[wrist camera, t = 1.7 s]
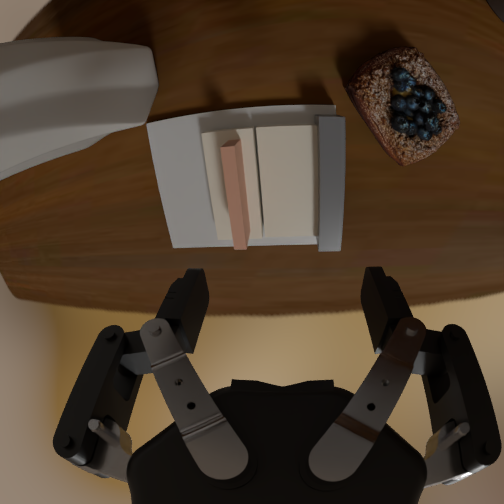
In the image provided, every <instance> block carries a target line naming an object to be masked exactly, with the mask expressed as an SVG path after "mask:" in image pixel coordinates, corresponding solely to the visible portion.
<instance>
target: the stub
mask: <svg viewBox="0 0 504 504" xmlns="http://www.w3.org/2000/svg"><path fill="white" fill-rule="evenodd" d="M201 135H202V142H203V149H204V156H205V163H206V170H207V176H208V183H209V189H210V196H211V202H212V208H213V214H214V220H215V226H216V232H217V238H218V240H233V245H234V250H244V249H247V245H248V240H249V239H262V237H263V223H262V211H261V199H260V188H259V176H258V165H257V154H256V143H255V132H254V126H253V127H240V128H230V129H221V130H212V131H205V132H203V133H201Z"/></svg>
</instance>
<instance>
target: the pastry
mask: <svg viewBox="0 0 504 504" xmlns="http://www.w3.org/2000/svg"><path fill="white" fill-rule="evenodd" d="M345 90H346V91H347V93H348V95H349V97H350V99H351V100H352V103H353V104H354V106H355V108H356V110H357V111H358V113H359V114H360V116H361V117H362V119H363V120H364V121H365V123H366V124H367V126H368V127H369V129H370V130H371V132H372V133H373V134H374V136H375V138H376V139H377V141H378V142H379V144H380V145H381V147H382V148H383V149H384V151H385V152H386V153H387V154H388V155H389V156H390V157H391V158H392V159H394V160H395V161H396V162H397V163H398V164H399V165H402V166H406V165H409V164H412V163H415V162H418V161H420V160H422V159H424V158H426V157H428V156H430V155H431V154H432V153H433V152H436V150H437V149H438V148H440V146H441V145H442V144H444V143H445V142H446V141H447V140H448V139H449V137H450V136H451V135H452V134H453V133H454V131H455V129H458V128H459V124H460V121H459V117H458V114H457V112H456V109H455V106H454V103H453V101H452V99H451V97H450V94H449V93H448V90H447V88H446V87H445V85H444V83H443V82H442V80H441V79H440V77H439V76H438V75H437V73H436V72H435V70H434V69H433V68H432V66H431V65H430V64H429V62H428V61H427V60H426V59H425V58H424V54H423V53H419V52H418V50H417V49H416V47H399V48H394V49H390V50H387V51H384V52H382V53H380V54H378V55H377V56H375V57H373V58H372V59H370V60H368V61H366V62H365V63H364V64H362V65H361V66H360V67H359V68H358V70H357V71H356V72H355V73H354V75H353V77H352V79H351V80H349V83H348V84H347V86H346V88H345Z"/></svg>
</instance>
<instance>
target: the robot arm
mask: <svg viewBox="0 0 504 504" xmlns="http://www.w3.org/2000/svg"><path fill="white" fill-rule="evenodd" d="M487 2H488V3H489V5H490V6H491V8H492V9H493V11H494V12H495V13H496V14H497V16H498V17H499V18H500V19H501V20H502V21H503V22H504V0H487ZM208 304H209V291H208V286H207V282H206V277H205V273H204V270H203V269H192V268H189V269H187V271H186V273H185V275H184V277H183V278H178V279H177V280H176V281H175V282H174V283H173V284H171V286H170V288H169V290H168V293H167V294H166V296H165V299H164V301H163V303H162V305H161V307H160V309H159V311H158V313H157V315H156V317H155V319H152V320H149V321H147V322H146V323H145V324H144V325H143V326H142V327H141V329H140V330H138V331H133V332H126V333H124V331H123V329H122V328H121V327H120V326H117V325H111V326H108V327H106V328H104V329H103V330H102V331H101V332H100V333H99V335H98V337H97V339H96V341H95V343H94V345H93V347H92V349H91V351H90V353H89V355H88V357H87V359H86V361H85V363H84V365H83V367H82V369H81V372H80V374H79V376H78V378H77V380H76V382H75V385H74V387H73V389H72V392H71V394H70V396H69V399H68V401H67V403H66V406H65V408H64V411H63V413H62V416H61V418H60V421H59V424H58V426H57V429H56V432H55V435H54V437H53V447H54V449H55V451H56V452H57V454H58V455H60V456H61V457H63V458H64V459H66V460H68V461H70V462H71V463H72V464H73V465H75V466H77V467H79V468H81V469H83V470H85V471H87V472H89V473H92V474H94V475H97V476H99V477H101V478H109V477H112V478H115V479H118V480H121V481H124V482H127V483H128V485H129V488H130V493H131V500H132V504H418V501H419V498H420V496H421V493H422V491H423V489H424V488H426V487H430V486H433V485H437V484H440V483H442V484H445V485H451V484H453V483H456V482H458V481H460V480H462V479H464V478H466V477H468V476H470V475H472V474H474V473H476V472H478V471H480V470H482V469H484V468H486V467H488V466H489V465H491V464H493V463H494V462H495V461H496V460H497V459H498V457H499V455H500V452H501V439H500V434H499V430H498V425H497V421H496V417H495V413H494V409H493V406H492V402H491V398H490V395H489V392H488V389H487V386H486V383H485V380H484V377H483V374H482V371H481V368H480V366H479V363H478V360H477V358H476V355H475V353H474V350H473V348H472V345H471V343H470V340H469V338H468V336H467V334H466V332H465V330H464V329H462V328H461V327H460V326H458V325H455V324H449V325H446V326H445V327H444V329H443V330H442V332H440V331H434V330H428V329H426V327H425V325H424V324H423V323H422V322H421V321H420V320H419V319H417V318H414V317H413V315H412V313H411V310H410V308H409V306H408V304H407V302H406V299H405V297H404V295H403V293H402V291H401V289H400V287H399V285H398V283H397V282H396V281H395V280H394V279H393V278H392V277H391V276H386V275H385V273H384V271H383V269H382V267H366V269H365V274H364V279H363V284H362V289H361V304H362V307H363V311H364V314H365V318H366V321H367V325H368V328H369V333H370V336H371V340H372V344H373V348H374V352H375V354H378V353H380V355H379V357H378V358H377V360H376V362H375V364H374V365H373V367H372V368H371V370H370V372H369V373H368V375H367V377H366V378H365V380H364V381H363V383H362V384H361V386H360V387H359V389H358V390H357V392H356V393H355V394H353V393H351V392H350V391H347V390H345V389H342V388H338V387H334V382H333V380H317V381H316V380H315V381H306V382H301V383H297V384H293V385H289V386H283V387H281V386H277V385H272V384H268V383H264V382H260V381H253V380H234V379H232V382H231V386H230V387H225V388H221V389H218V390H216V391H214V392H212V393H210V394H209V393H208V391H207V390H206V388H205V387H204V385H203V383H202V382H201V380H200V378H199V377H198V375H197V373H196V371H195V370H194V368H193V366H192V364H191V363H190V361H189V359H188V357H187V355H186V354H185V353H192V354H193V352H194V349H195V346H196V343H197V339H198V336H199V333H200V330H201V326H202V323H203V320H204V317H205V314H206V310H207V307H208ZM148 373H153V374H154V376H155V379H156V381H157V383H158V386H159V388H160V390H161V393H162V395H163V397H164V399H165V401H166V404H167V406H168V408H169V410H170V412H171V414H172V416H173V418H174V420H175V421H174V422H173V423H172V424H171V425H169V426H168V427H167V428H165V429H164V430H163V431H161V432H160V433H159V434H158V435H156V436H155V437H153V438H152V439H151V440H149V441H148V442H147V443H145V444H144V445H143V446H141V447H140V448H138V449H137V450H136V451H135V452H134V453H133V454H132V449H131V448H132V440H131V437H130V435H129V434H128V433H127V432H126V430H127V427H128V424H129V420H130V417H131V413H132V410H133V406H134V403H135V399H136V397H137V394H138V390H139V387H140V384H141V381H142V378H143V374H148ZM411 373H412V374H419V375H421V376H422V380H423V384H424V389H425V393H426V398H427V403H428V408H429V414H430V419H431V425H432V432H433V435H432V436H431V437H430V438H429V440H428V442H427V445H426V454H425V456H424V458H423V457H422V455H421V454H420V453H419V452H418V451H417V450H416V449H414V448H413V447H412V446H411V445H410V444H409V443H408V442H407V441H406V440H404V439H403V438H402V437H401V436H400V435H399V434H398V433H397V432H395V431H394V430H393V429H392V428H391V427H390V426H389V425H388V424H387V423H386V422H387V420H388V418H389V416H390V414H391V413H392V411H393V409H394V407H395V405H396V403H397V401H398V400H399V397H400V396H401V394H402V392H403V390H404V387H405V385H406V383H407V381H408V379H409V377H410V375H411Z"/></svg>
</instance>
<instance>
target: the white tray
mask: <svg viewBox="0 0 504 504" xmlns="http://www.w3.org/2000/svg"><path fill="white" fill-rule="evenodd" d="M253 126H254V132H255V143H256V154H257V165H258V176H259V188H260V199H261V211H262V223H263V237H262V239H249V240H248V245H247V246H260V245H300V244H317V245H318V250H319V251H341V239H342V226H343V211H344V190H345V117H343V116H340V115H336V105H278V106H261V107H248V108H237V109H228V110H220V111H212V112H205V113H199V114H192V115H186V116H181V117H175V118H170V119H165V120H160V121H156V122H151V123H148V124H147V130H148V136H149V141H150V147H151V152H152V157H153V163H154V168H155V172H156V177H157V182H158V187H159V191H160V196H161V200H162V204H163V209H164V213H165V217H166V221H167V225H168V229H169V233H170V237H171V241H172V245H173V248H189V247H223V246H234V245H233V240H218V238H217V232H216V226H215V220H214V214H213V208H212V202H211V196H210V189H209V183H208V176H207V170H206V163H205V156H204V149H203V142H202V135H201V133H203V132H205V131H212V130H221V129H230V128H240V127H253Z"/></svg>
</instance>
